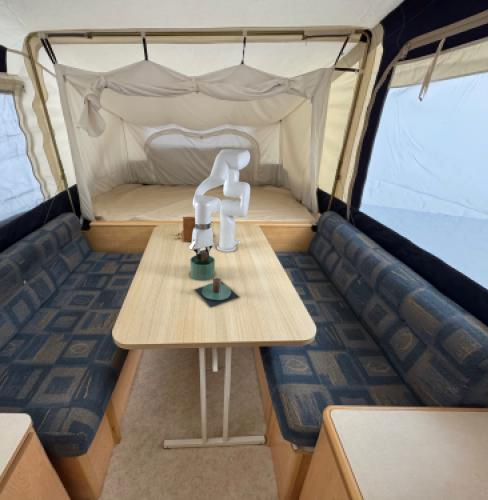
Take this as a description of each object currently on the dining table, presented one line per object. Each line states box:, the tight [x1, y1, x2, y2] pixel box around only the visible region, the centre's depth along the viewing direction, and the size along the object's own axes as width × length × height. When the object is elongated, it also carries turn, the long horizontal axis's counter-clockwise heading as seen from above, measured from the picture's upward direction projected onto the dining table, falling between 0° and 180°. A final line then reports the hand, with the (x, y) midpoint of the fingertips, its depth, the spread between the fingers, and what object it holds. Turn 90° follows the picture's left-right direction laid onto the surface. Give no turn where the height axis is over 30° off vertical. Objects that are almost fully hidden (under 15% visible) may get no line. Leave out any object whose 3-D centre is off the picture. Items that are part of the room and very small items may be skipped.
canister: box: [189, 255, 216, 281], centre depth 139 cm, size 13×13×8 cm
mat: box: [194, 281, 240, 308], centre depth 125 cm, size 15×15×1 cm
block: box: [200, 249, 208, 261], centre depth 136 cm, size 4×4×4 cm
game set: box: [174, 215, 215, 243], centre depth 183 cm, size 28×22×19 cm
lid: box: [202, 277, 232, 300], centre depth 123 cm, size 14×14×7 cm
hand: (202, 258), depth 137 cm, fingers closed on block, 4 cm apart
